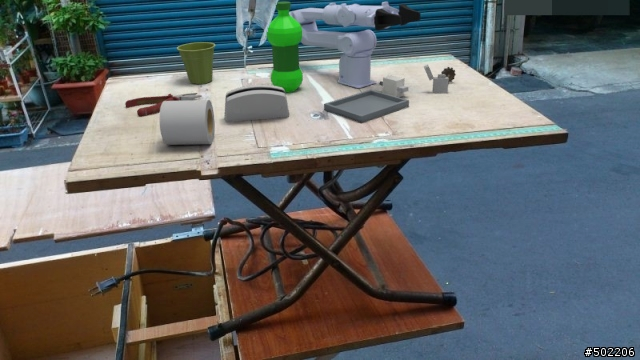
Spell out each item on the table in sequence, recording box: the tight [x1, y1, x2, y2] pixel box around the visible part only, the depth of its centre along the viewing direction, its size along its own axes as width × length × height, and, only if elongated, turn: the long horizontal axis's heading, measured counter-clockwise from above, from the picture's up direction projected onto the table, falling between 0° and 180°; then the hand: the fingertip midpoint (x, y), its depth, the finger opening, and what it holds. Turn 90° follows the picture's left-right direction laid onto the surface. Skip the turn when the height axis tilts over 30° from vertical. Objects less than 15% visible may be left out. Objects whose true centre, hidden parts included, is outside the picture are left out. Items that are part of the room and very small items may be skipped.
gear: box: [440, 66, 457, 84], centre depth 161 cm, size 5×1×5 cm, turn 108°
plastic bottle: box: [266, 0, 304, 93], centre depth 155 cm, size 10×10×25 cm
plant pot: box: [176, 41, 216, 85], centre depth 168 cm, size 12×12×11 cm
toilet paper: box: [159, 99, 216, 146], centre depth 122 cm, size 10×10×10 cm
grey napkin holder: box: [224, 84, 290, 123], centre depth 137 cm, size 17×5×10 cm, turn 100°
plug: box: [379, 74, 409, 98], centre depth 153 cm, size 9×4×5 cm, turn 41°
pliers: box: [124, 92, 203, 118], centre depth 150 cm, size 12×20×3 cm, turn 127°
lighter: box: [423, 64, 449, 94], centre depth 153 cm, size 7×2×8 cm, turn 85°
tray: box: [323, 89, 410, 124], centre depth 143 cm, size 14×18×2 cm
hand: (410, 18), depth 142 cm, fingers open, 7 cm apart
